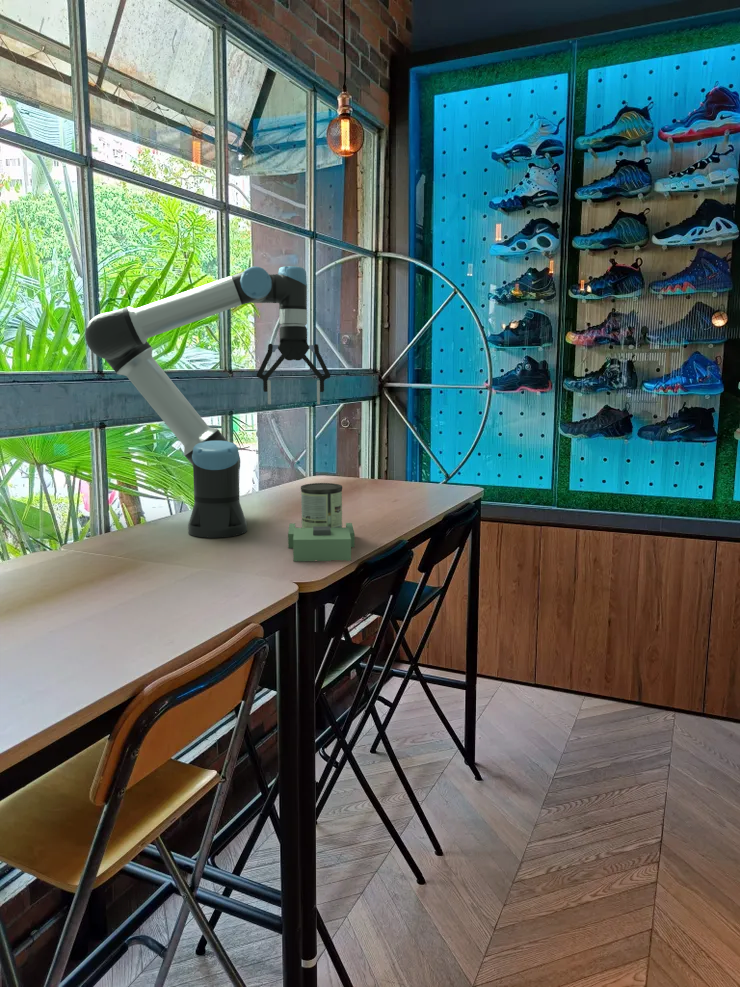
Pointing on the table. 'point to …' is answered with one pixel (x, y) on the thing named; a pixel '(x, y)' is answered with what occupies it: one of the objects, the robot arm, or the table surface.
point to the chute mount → (321, 543)
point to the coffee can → (321, 505)
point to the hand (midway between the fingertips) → (294, 404)
